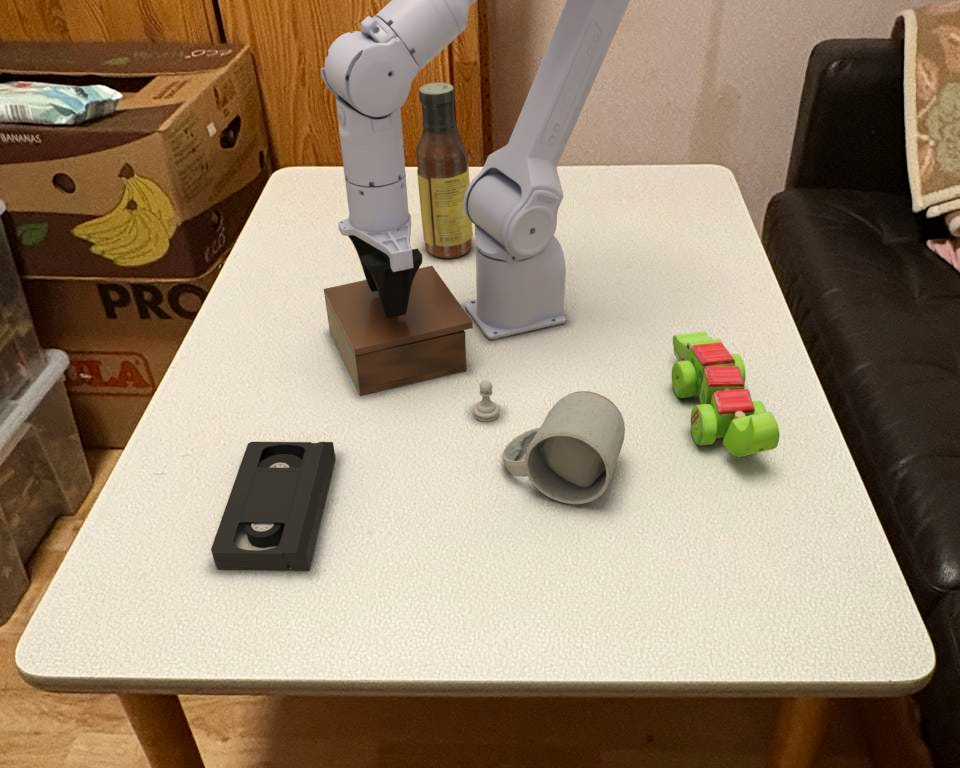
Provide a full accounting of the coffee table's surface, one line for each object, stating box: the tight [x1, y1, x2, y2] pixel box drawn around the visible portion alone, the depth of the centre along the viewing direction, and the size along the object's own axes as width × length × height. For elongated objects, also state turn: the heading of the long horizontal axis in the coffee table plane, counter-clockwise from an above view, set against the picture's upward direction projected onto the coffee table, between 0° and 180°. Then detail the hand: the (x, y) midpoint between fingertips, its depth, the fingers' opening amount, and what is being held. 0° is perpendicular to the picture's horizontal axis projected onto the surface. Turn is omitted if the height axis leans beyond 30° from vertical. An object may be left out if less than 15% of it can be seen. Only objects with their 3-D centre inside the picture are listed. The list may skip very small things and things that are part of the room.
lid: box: [323, 265, 474, 356], centre depth 94 cm, size 12×13×4 cm
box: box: [324, 296, 467, 396], centre depth 97 cm, size 12×13×5 cm
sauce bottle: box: [415, 82, 474, 259], centre depth 109 cm, size 6×6×20 cm
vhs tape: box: [210, 441, 336, 571], centre depth 80 cm, size 14×8×2 cm, turn 178°
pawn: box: [472, 379, 500, 422], centre depth 89 cm, size 3×3×4 cm
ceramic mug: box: [501, 390, 626, 505], centre depth 81 cm, size 11×8×8 cm
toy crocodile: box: [671, 331, 781, 458], centre depth 88 cm, size 20×7×6 cm, turn 5°
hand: (387, 301), depth 94 cm, fingers closed on lid, 5 cm apart
